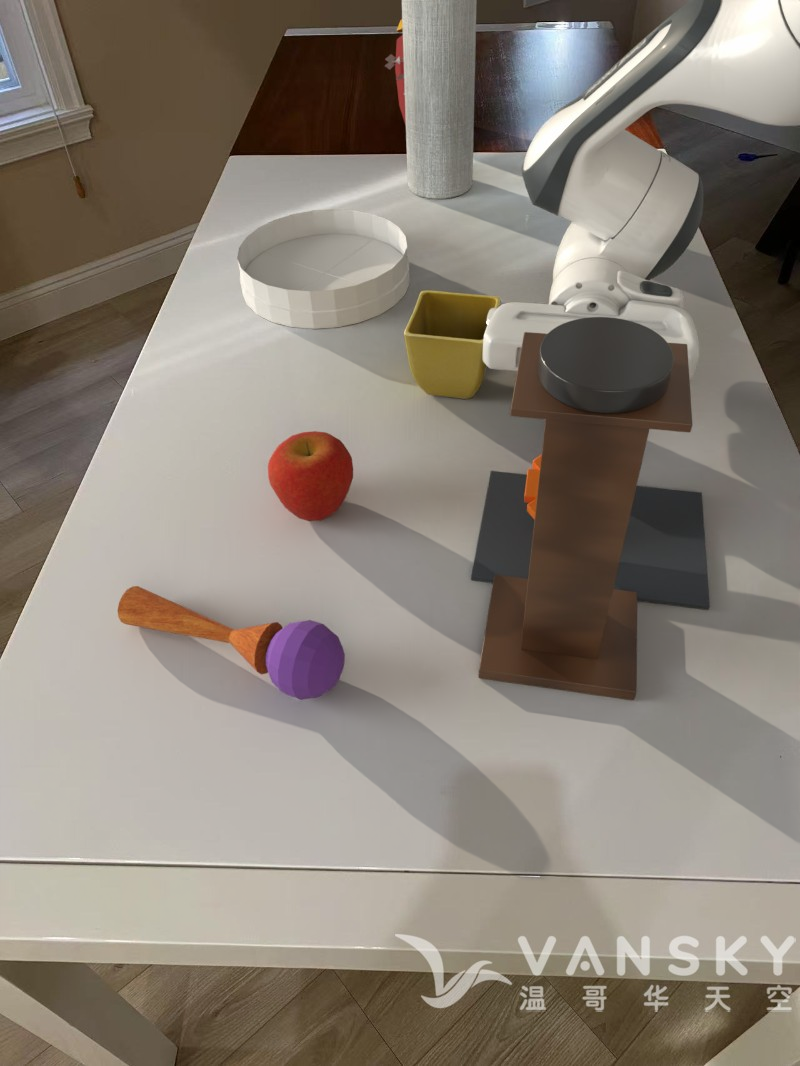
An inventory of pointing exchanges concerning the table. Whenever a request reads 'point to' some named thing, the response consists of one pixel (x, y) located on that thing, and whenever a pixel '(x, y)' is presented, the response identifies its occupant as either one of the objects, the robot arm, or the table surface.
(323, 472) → the apple
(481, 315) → the flower pot
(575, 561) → the stand
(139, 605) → the kendama
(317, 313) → the dish
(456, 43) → the vase
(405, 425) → the table surface
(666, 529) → the mat
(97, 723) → the table surface
